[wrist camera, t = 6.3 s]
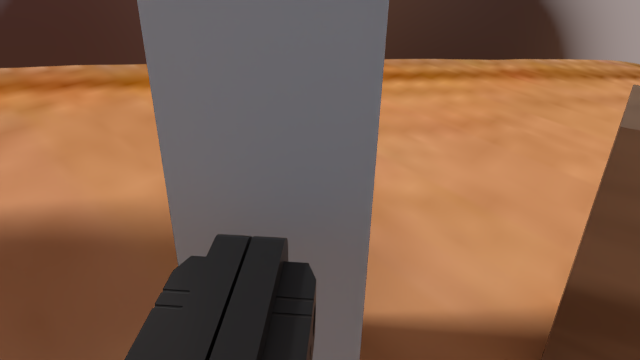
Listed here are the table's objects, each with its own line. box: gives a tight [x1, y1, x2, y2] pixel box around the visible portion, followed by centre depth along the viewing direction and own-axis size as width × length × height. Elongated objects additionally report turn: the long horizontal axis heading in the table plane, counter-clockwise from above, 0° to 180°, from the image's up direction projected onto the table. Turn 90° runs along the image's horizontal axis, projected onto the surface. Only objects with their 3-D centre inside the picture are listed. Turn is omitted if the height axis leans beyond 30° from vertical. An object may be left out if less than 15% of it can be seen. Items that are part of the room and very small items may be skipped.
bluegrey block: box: [137, 0, 389, 360], centre depth 14 cm, size 5×5×18 cm
